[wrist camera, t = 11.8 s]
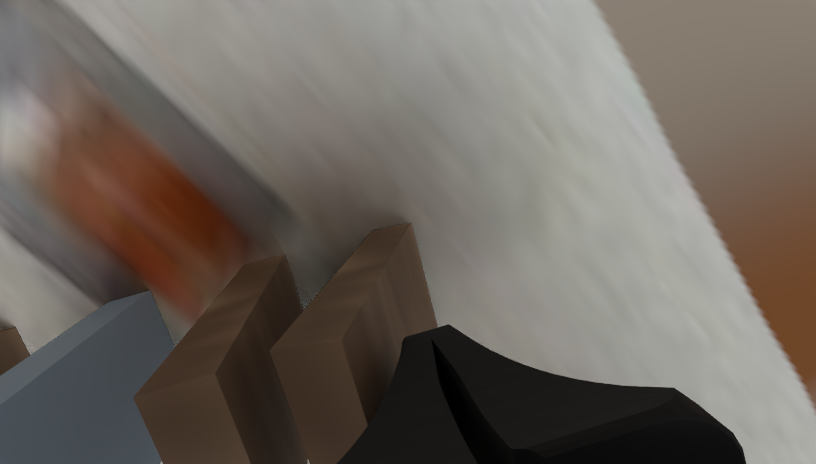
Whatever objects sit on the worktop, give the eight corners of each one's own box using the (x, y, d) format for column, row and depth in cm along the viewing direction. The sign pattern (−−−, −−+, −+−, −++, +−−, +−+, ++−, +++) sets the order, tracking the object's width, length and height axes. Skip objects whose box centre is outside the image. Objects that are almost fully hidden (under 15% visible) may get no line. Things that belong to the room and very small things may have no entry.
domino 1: (150, 290, 17) (-64, 453, 8) (197, 399, 18) (54, 643, 9) (108, 301, 17) (-152, 480, 8) (158, 411, 18) (-22, 668, 9)
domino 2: (284, 254, 17) (215, 373, 9) (320, 364, 18) (292, 568, 10) (244, 265, 17) (133, 397, 8) (283, 374, 18) (221, 591, 10)
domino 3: (411, 222, 17) (340, 340, 9) (439, 335, 18) (402, 536, 10) (373, 230, 18) (269, 350, 9) (403, 340, 19) (337, 538, 10)
